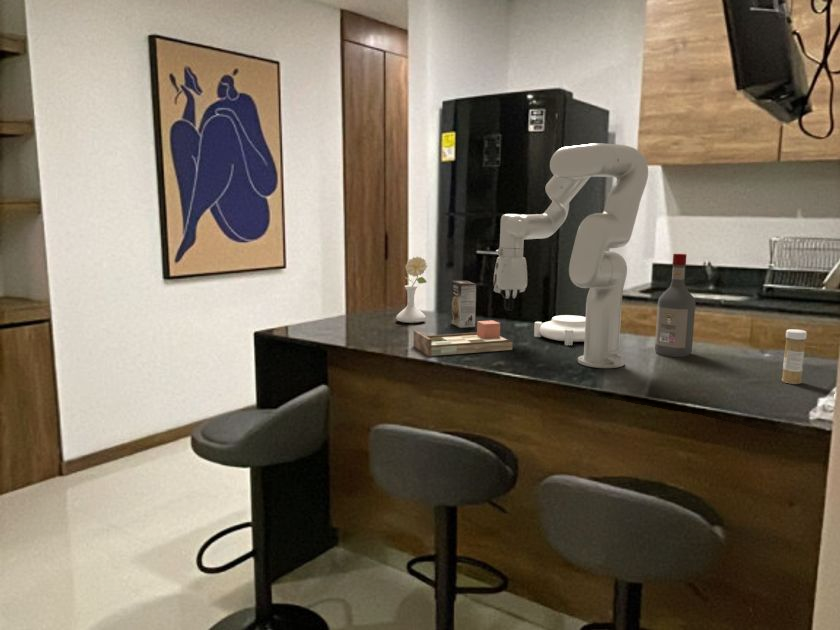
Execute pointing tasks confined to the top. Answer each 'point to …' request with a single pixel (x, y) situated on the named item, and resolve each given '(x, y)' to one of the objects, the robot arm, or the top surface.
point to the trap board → (458, 343)
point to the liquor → (675, 315)
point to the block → (488, 329)
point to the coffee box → (463, 303)
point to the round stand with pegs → (562, 329)
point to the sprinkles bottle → (794, 356)
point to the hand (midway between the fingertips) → (508, 309)
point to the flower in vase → (413, 292)
